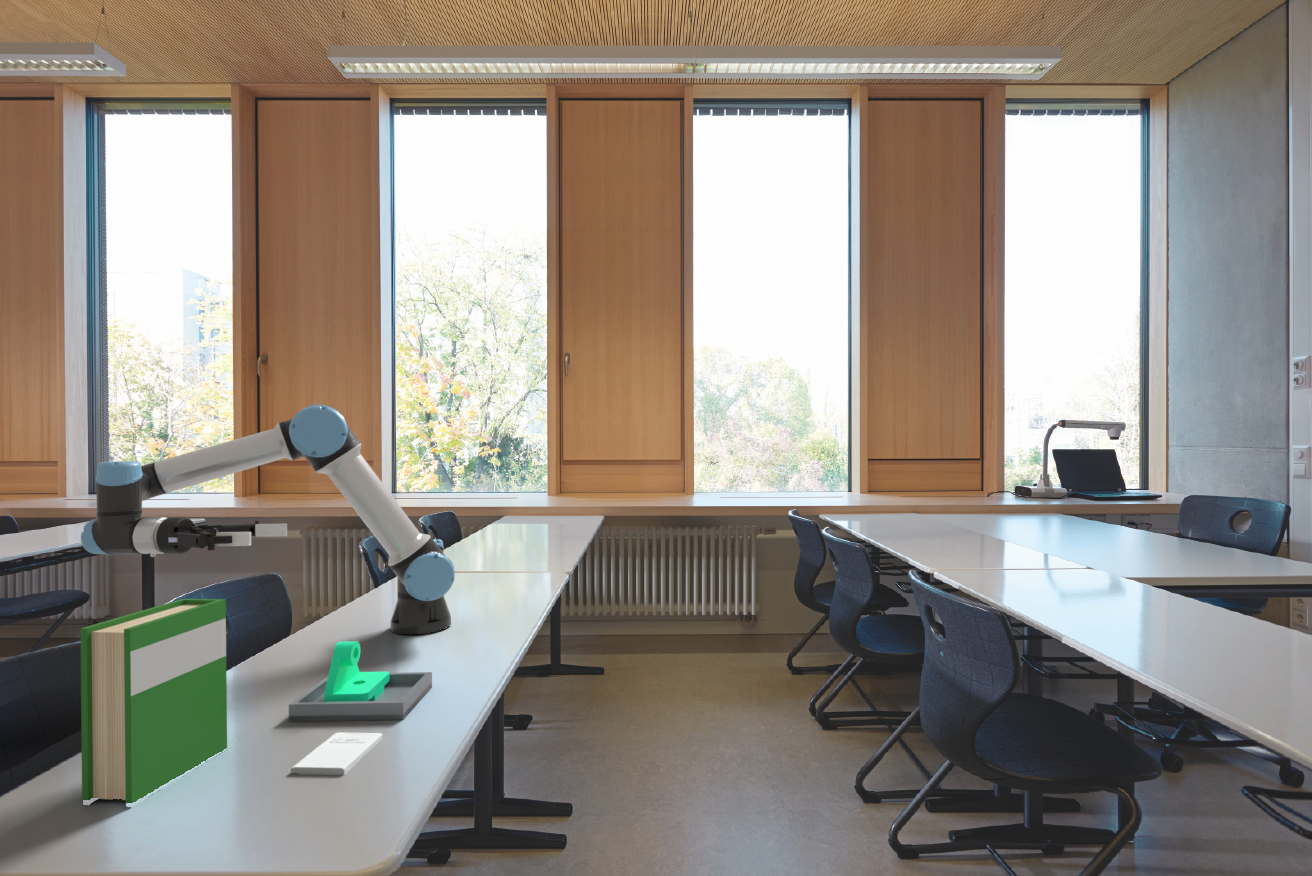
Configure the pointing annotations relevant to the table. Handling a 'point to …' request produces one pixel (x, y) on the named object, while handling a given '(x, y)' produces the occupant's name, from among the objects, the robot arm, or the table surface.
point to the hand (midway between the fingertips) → (269, 534)
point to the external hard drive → (337, 754)
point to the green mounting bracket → (352, 677)
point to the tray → (388, 706)
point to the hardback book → (152, 697)
